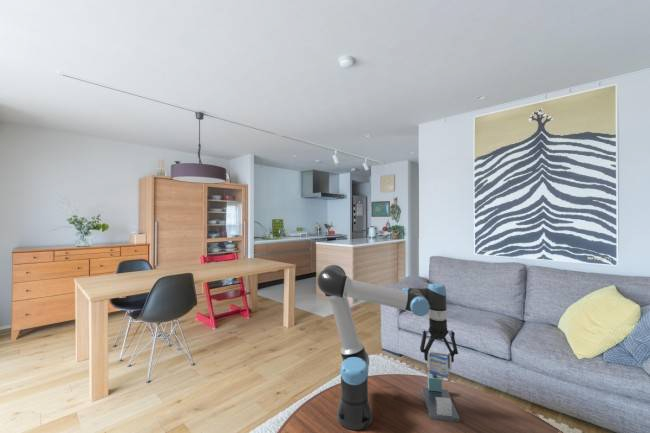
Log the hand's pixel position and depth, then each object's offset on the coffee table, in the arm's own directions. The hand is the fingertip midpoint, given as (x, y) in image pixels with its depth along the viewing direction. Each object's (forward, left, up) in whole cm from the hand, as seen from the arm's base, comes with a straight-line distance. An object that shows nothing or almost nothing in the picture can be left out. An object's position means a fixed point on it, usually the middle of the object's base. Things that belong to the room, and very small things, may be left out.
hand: (439, 368), depth 131 cm
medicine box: (0, 0, -3) cm, 3 cm away
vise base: (0, +2, -18) cm, 18 cm away
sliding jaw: (0, +11, -16) cm, 20 cm away
